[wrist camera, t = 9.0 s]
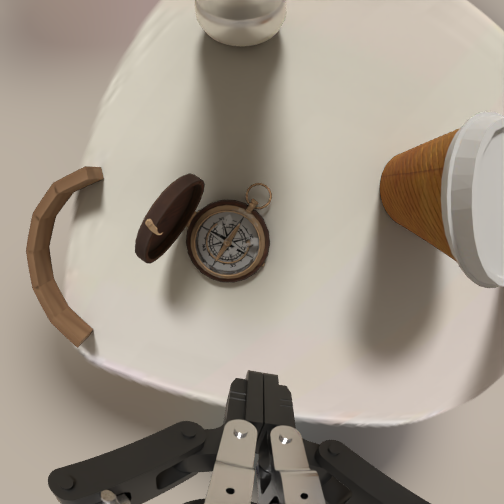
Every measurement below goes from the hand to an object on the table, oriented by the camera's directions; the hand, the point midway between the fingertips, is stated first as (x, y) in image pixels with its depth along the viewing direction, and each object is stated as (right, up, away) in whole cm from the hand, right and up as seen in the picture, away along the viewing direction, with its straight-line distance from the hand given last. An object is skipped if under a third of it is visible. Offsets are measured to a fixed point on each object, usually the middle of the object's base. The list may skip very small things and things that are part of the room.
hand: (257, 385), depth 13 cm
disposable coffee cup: (+13, +12, +7) cm, 19 cm away
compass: (-2, +9, +8) cm, 12 cm away
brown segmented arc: (-17, +7, +8) cm, 20 cm away
